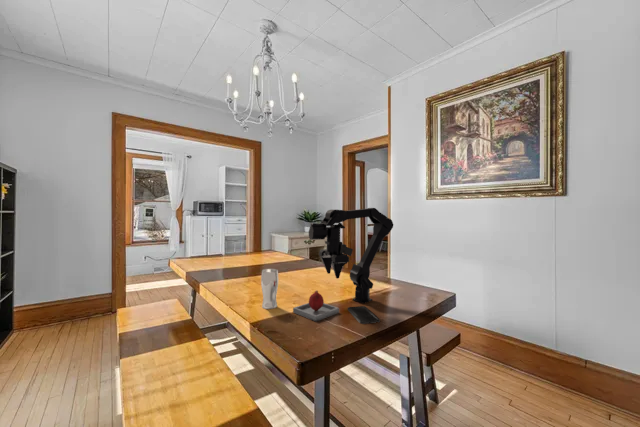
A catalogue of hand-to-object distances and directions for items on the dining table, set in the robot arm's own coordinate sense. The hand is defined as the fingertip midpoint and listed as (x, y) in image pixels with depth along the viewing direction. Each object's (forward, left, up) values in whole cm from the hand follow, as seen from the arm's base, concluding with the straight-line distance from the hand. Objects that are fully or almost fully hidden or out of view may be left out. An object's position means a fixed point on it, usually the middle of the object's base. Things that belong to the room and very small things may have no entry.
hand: (333, 275), depth 118 cm
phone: (+1, +16, -13) cm, 21 cm away
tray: (+12, +2, -12) cm, 17 cm away
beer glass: (+21, -16, -12) cm, 29 cm away
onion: (+12, +2, -12) cm, 17 cm away
